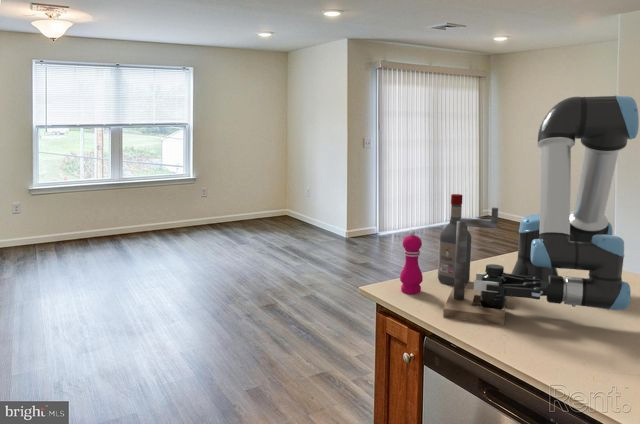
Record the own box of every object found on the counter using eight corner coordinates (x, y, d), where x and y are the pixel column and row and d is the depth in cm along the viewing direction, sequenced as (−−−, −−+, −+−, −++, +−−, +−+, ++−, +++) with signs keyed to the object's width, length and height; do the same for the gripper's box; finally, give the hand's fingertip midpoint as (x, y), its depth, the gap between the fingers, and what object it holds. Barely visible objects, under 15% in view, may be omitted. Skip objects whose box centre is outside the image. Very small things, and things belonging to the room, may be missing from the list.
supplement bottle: (502, 312, 140) (504, 270, 138) (477, 308, 143) (479, 267, 141) (507, 305, 145) (509, 265, 143) (483, 300, 149) (485, 261, 147)
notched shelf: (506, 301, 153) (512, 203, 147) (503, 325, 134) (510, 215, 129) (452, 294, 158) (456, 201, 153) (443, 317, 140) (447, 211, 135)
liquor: (458, 287, 166) (461, 197, 161) (434, 281, 172) (437, 194, 167) (472, 281, 172) (476, 194, 167) (448, 275, 179) (452, 192, 173)
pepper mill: (422, 295, 158) (424, 233, 155) (399, 294, 159) (400, 232, 156) (422, 288, 165) (424, 228, 162) (400, 287, 166) (401, 228, 163)
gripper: (565, 315, 128) (471, 304, 137) (559, 292, 146) (477, 283, 155) (567, 287, 127) (472, 278, 135) (561, 267, 145) (478, 260, 153)
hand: (475, 281), depth 145 cm, fingers closed on supplement bottle, 7 cm apart
